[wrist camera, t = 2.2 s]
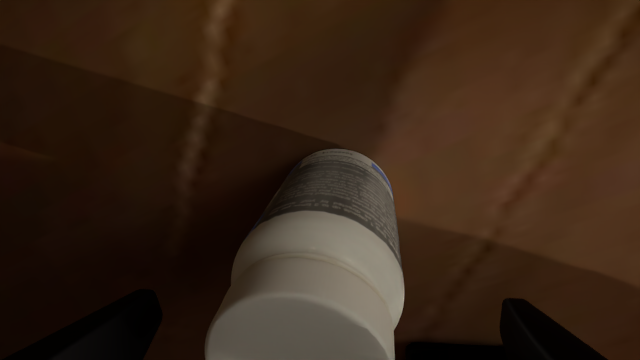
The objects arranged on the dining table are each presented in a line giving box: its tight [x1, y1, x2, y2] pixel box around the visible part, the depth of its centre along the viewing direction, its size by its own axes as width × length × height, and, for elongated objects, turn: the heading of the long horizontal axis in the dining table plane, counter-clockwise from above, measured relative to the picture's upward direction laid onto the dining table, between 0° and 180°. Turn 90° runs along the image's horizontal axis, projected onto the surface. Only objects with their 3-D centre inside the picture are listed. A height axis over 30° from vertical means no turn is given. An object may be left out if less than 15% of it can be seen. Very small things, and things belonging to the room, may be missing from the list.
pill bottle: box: [205, 149, 404, 360], centre depth 10 cm, size 5×5×8 cm
